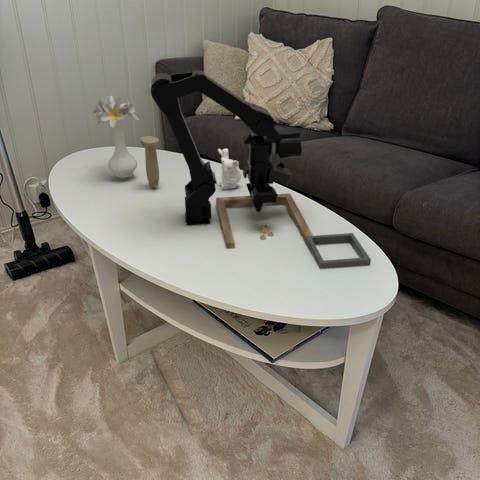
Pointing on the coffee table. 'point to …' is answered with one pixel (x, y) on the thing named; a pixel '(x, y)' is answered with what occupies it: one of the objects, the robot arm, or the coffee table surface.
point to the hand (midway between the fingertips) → (258, 211)
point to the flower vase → (117, 134)
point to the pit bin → (334, 239)
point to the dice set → (265, 232)
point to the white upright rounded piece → (229, 171)
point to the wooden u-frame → (247, 202)
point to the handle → (151, 159)
